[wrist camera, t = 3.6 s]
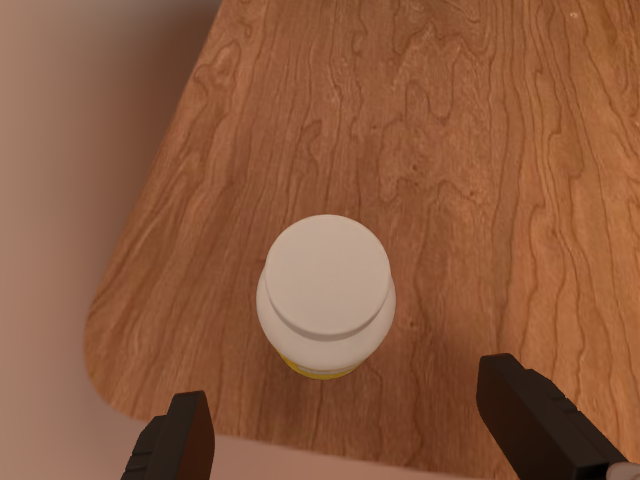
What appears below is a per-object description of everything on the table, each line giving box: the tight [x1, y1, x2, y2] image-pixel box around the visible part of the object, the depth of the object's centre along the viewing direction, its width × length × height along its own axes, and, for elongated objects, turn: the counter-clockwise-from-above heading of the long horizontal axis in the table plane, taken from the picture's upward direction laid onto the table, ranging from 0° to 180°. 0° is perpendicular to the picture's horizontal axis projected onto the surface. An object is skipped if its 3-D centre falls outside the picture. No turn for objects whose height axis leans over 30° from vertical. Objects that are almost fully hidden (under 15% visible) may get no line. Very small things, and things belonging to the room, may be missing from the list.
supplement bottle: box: [256, 214, 396, 380], centre depth 16 cm, size 5×5×10 cm
